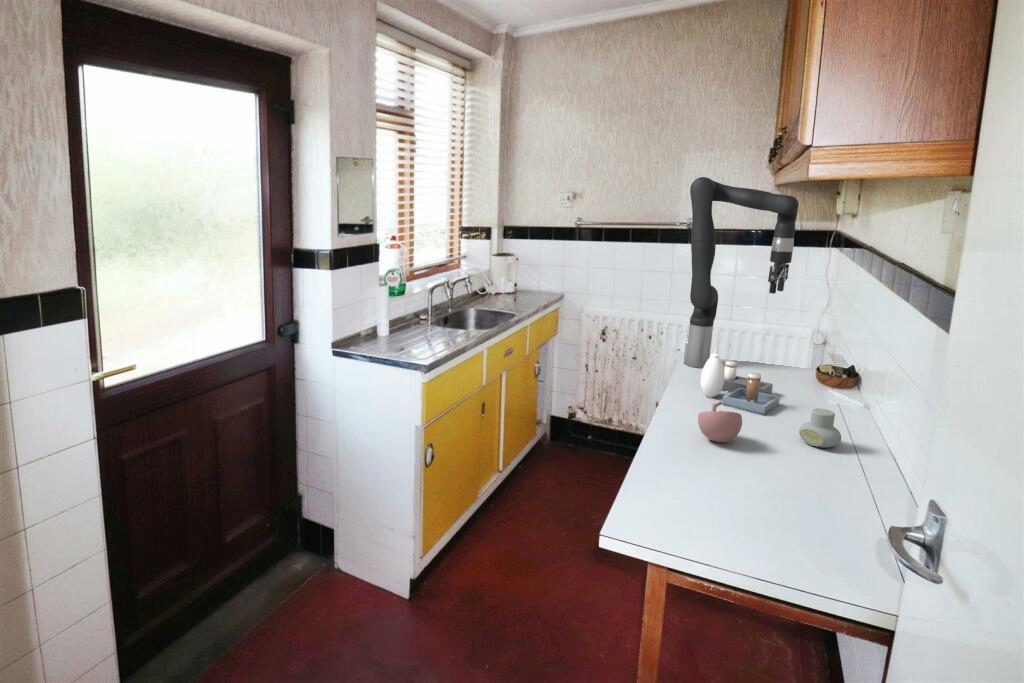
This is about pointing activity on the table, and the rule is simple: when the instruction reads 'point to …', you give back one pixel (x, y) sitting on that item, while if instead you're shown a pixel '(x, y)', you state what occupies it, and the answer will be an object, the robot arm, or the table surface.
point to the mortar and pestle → (719, 424)
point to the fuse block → (745, 385)
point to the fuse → (730, 370)
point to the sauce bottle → (712, 376)
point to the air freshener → (820, 429)
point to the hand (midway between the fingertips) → (776, 292)
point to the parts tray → (762, 406)
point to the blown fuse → (753, 387)
